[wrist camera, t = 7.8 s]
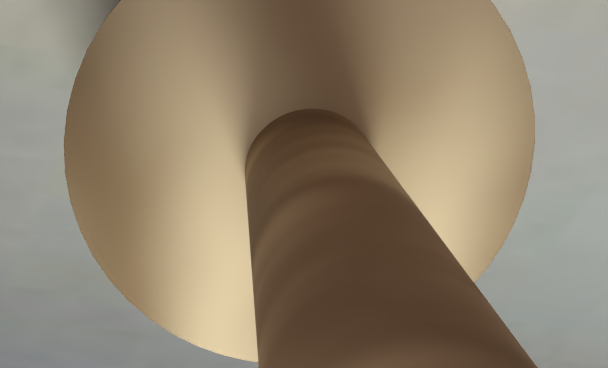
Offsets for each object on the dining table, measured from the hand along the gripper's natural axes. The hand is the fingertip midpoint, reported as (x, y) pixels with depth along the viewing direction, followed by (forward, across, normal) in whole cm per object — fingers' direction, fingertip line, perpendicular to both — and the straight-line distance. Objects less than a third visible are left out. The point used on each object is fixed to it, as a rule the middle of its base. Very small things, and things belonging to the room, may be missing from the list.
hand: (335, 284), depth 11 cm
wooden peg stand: (+7, 0, 0) cm, 7 cm away
